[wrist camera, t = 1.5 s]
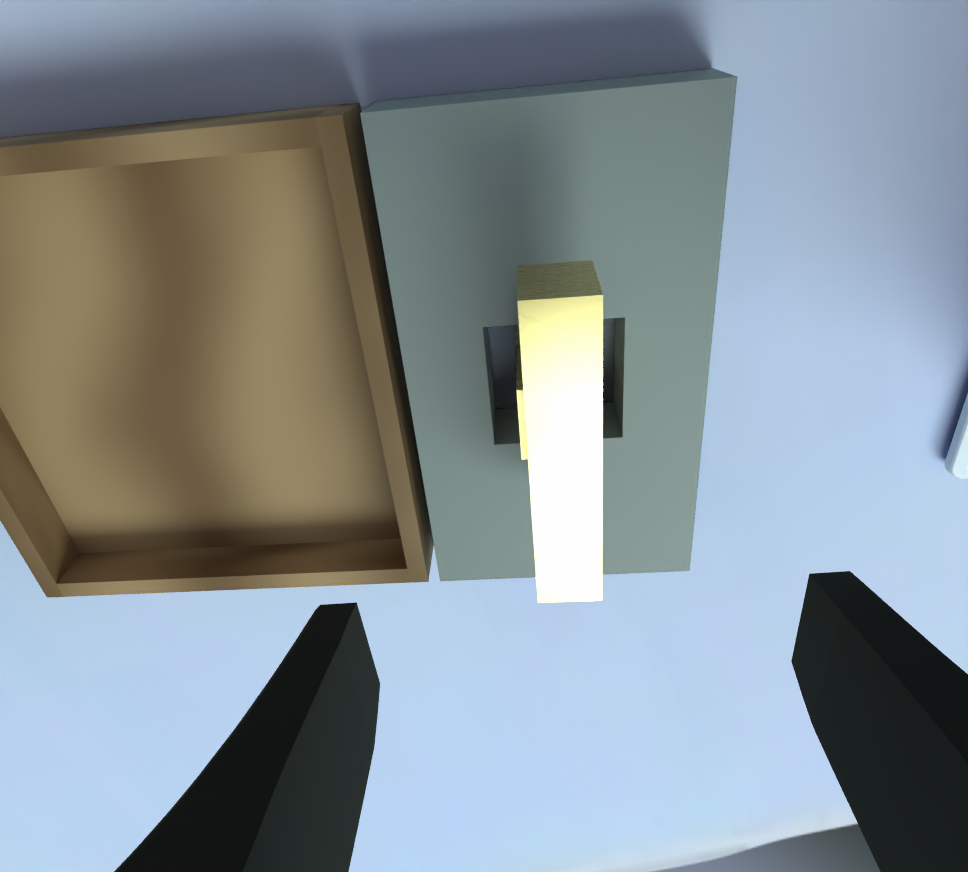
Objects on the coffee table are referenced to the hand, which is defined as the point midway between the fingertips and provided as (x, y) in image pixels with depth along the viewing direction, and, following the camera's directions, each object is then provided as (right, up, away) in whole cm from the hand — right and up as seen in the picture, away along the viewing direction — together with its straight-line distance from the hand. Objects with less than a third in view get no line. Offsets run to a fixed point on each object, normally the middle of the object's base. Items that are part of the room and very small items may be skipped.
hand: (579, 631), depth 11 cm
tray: (-11, +5, +10) cm, 15 cm away
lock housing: (0, +6, +9) cm, 11 cm away
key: (0, +6, +9) cm, 11 cm away
